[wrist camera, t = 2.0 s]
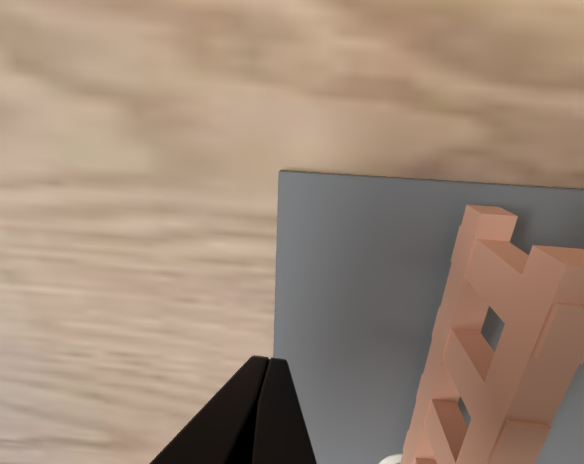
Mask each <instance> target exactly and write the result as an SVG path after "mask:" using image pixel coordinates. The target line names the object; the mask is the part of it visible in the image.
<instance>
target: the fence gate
mask: <svg viewBox="0 0 584 464" xmlns="http://www.w3.org/2000/svg"><path fill="white" fill-rule="evenodd" d="M517 218H518V216H516V215H514V214H512V213H510V212H508V211H506V210H505V209H503V208H501V207H494V206H479V205H466V208H465V212H464V216H463V220H462V224H461V226H459V230H458V234H457V238H456V242H455V245H454V249H453V253H452V257H451V262H452V263H451V267H450V271H449V275H448V279H447V283H446V287H445V290H444V294H443V298H442V302H441V306H440V307H439V309H438V312H437V316H436V320H435V324H434V328H433V332H432V341H431V345H430V349H429V353H428V357H427V361H426V365H425V369H424V373H423V374H422V375H421V379H420V383H419V387H418V391H417V395H416V404H415V408H414V412H413V416H412V419H411V423H410V427H409V429H408V431H407V435H406V438H405V442H404V446H403V455H402V459H401V462H400V464H534V463H535V461H536V459H537V457H538V455H539V452H540V450H541V448H542V446H543V444H544V442H545V440H546V438H547V436H548V434H549V432H550V430H551V429H550V428H549V426H550V424H551V422H552V420H553V418H554V416H555V414H556V412H557V410H558V408H559V406H560V404H561V401H562V399H563V397H564V395H565V393H566V391H567V389H568V387H569V385H570V383H571V381H572V379H573V377H574V375H575V373H576V371H577V368H578V366H579V364H582V365H583V363H584V250H583V249H578V248H565V247H552V246H539V245H533V246H532V248H531V251H530V254H529V255H528V254H526V253H525V252H523V251H522V250H520V249H519V248H517V247H516V246H514V245H513V244H511V243H510V239H511V236H512V233H513V230H514V227H515V224H516V221H517ZM489 306H490V307H491V308H492V309H493V310H494V312H495V313H496V314H497V315H498V316H499V317H500V319H501V320H502V321H503V322H504V323H505V325H504V328H503V331H502V333H501V336H500V339H499V342H498V345H497V348H496V350H495V352H494V351H493V349H492V348H491V346H490V345H489V344H488V342H487V341H486V339H485V338H484V337H483V335H482V334H481V329H482V326H483V323H484V320H485V317H486V314H487V311H488V308H489ZM460 396H461V398H462V400H463V402H464V404H465V406H466V408H467V410H468V412H469V414H470V416H471V421H470V424H469V427H468V426H467V424H466V422H465V420H464V418H463V415H462V413H461V411H460V409H459V407H458V405H457V404H458V401H459V398H460Z"/></svg>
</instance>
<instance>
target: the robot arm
mask: <svg viewBox="0 0 584 464" xmlns="http://www.w3.org/2000/svg"><path fill="white" fill-rule="evenodd" d="M150 464H317V462H316V458H315V455H314V451H313V448H312V444H311V441H310V438H309V434H308V431H307V427H306V424H305V420H304V417H303V413H302V410H301V406H300V403H299V400H298V396H297V393H296V389H295V386H294V382H293V379H292V375H291V372H290V368H289V365H288V362H287V360H286V359H280V358H270V360H269V358H268V357H263V356H252V357H250V358H249V360H248V361H247V362H246V363H245V364H244V365H243V366H242V367H241V368H240V369H239V370H238V371H237V372H236V373H235V374H234V375H233V376H232V377H231V379H230V380H229V381H228V382H227V383H226V384H225V385H224V386H223V387H222V388H221V389H220V390H219V391H218V392H217V393H216V394H215V395H214V396H213V397H212V399H211V400H210V401H209V402H208V403H207V404H206V405H205V406H204V407H203V408H202V409H201V410H200V411H199V412H198V413H197V414H196V415H195V416H194V417H193V419H192V420H191V421H190V422H189V423H188V424H187V425H186V426H185V427H184V428H183V429H182V430H181V431H180V432H179V433H178V434H177V435H176V436H175V437H174V439H173V440H172V441H171V442H170V443H169V444H168V445H167V446H166V447H165V448H164V449H163V450H162V451H161V452H160V453H159V454H158V455H157V456H156V457H155V459H154V460H153V461H152V462H151V463H150Z"/></svg>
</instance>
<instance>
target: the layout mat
mask: <svg viewBox="0 0 584 464" xmlns="http://www.w3.org/2000/svg"><path fill="white" fill-rule="evenodd" d="M466 205H479V206H494V207H501V208H503V209H505V210H506V211H508V212H510V213H512V214H514V215H516V216H518V218H517V221H516V224H515V227H514V230H513V233H512V236H511V239H510V243H511V244H513V245H514V246H516V247H517V248H519V249H520V250H522V251H523V252H525V253H526V254H528V255H529V254H530V251H531V248H532V246H533V245H539V246H552V247H565V248H578V249H583V250H584V189H573V188H557V187H540V186H524V185H508V184H492V183H476V182H460V181H444V180H428V179H412V178H396V177H380V176H364V175H348V174H332V173H316V172H300V171H284V170H280V171H279V182H278V216H277V250H276V285H275V319H274V354H273V358H280V359H286V360H287V362H288V365H289V368H290V372H291V375H292V379H293V382H294V386H295V389H296V393H297V396H298V400H299V403H300V406H301V410H302V413H303V417H304V420H305V424H306V427H307V431H308V434H309V438H310V441H311V444H312V448H313V451H314V455H315V458H316V462H317V464H400V462H401V459H402V455H403V446H404V442H405V438H406V435H407V431H408V429H409V427H410V423H411V419H412V416H413V412H414V408H415V404H416V395H417V391H418V387H419V383H420V379H421V375H422V374H423V373H424V369H425V365H426V361H427V357H428V353H429V349H430V345H431V341H432V332H433V328H434V324H435V320H436V316H437V312H438V309H439V307H440V306H441V302H442V298H443V294H444V290H445V287H446V283H447V279H448V275H449V271H450V267H451V263H452V262H451V257H452V253H453V249H454V245H455V242H456V238H457V234H458V230H459V226H461V224H462V220H463V216H464V212H465V208H466ZM504 325H505V323H504V322H503V321H502V320H501V319H500V317H499V316H498V315H497V314H496V313H495V312H494V310H493V309H492V308H491V307H490V306H489V308H488V311H487V314H486V317H485V320H484V323H483V326H482V329H481V334H482V335H483V337H484V338H485V339H486V341H487V342H488V344H489V345H490V346H491V348H492V349H493V351H494V352H495V350H496V348H497V345H498V342H499V339H500V336H501V333H502V331H503V328H504ZM457 405H458V407H459V409H460V411H461V413H462V415H463V418H464V420H465V422H466V424H467V426H468V427H469V424H470V421H471V416H470V414H469V412H468V410H467V408H466V406H465V404H464V402H463V400H462V398H461V396H460V398H459V401H458V404H457ZM549 428H550V429H551V430H550V432H549V434H548V436H547V438H546V440H545V442H544V444H543V446H542V448H541V450H540V452H539V455H538V457H537V459H536V461H535V463H534V464H584V363H583V365H582V364H579V366H578V368H577V371H576V373H575V375H574V377H573V379H572V381H571V383H570V385H569V387H568V389H567V391H566V393H565V395H564V397H563V399H562V401H561V404H560V406H559V408H558V410H557V412H556V414H555V416H554V418H553V420H552V422H551V424H550V426H549Z"/></svg>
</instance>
